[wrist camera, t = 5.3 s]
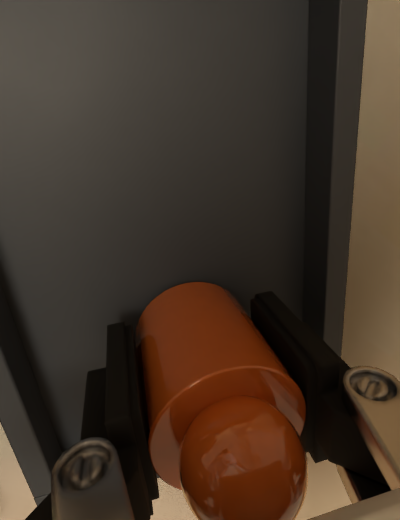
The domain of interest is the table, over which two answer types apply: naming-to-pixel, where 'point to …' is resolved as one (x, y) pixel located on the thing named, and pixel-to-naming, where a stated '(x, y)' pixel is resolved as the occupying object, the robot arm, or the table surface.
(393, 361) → the table surface
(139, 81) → the tray
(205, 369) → the orange game pawn
